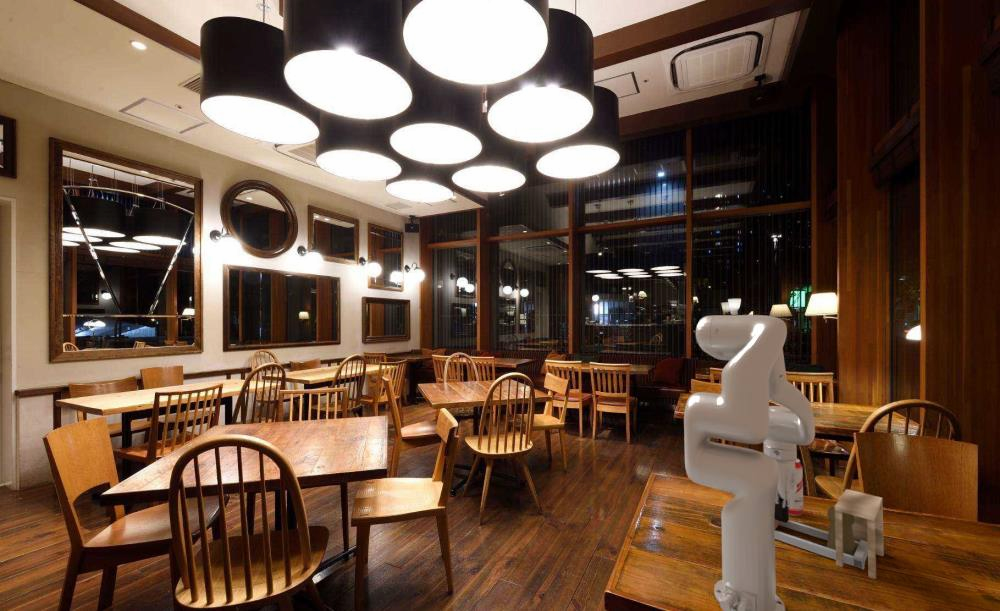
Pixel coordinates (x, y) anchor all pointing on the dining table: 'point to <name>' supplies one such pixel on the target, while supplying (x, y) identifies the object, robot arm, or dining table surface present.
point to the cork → (847, 532)
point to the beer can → (797, 493)
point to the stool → (861, 525)
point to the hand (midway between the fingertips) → (781, 519)
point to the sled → (855, 560)
